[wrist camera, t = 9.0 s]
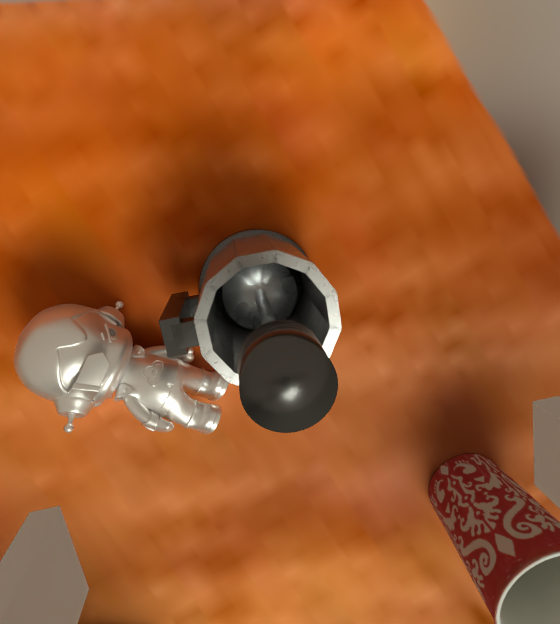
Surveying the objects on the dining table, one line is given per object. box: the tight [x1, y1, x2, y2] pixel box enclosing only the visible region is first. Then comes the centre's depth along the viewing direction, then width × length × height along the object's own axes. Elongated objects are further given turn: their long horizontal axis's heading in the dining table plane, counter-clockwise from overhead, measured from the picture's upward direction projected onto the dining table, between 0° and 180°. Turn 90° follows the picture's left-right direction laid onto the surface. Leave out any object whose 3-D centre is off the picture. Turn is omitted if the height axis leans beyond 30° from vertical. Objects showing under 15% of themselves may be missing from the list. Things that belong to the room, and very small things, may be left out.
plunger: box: [222, 262, 338, 433], centre depth 27 cm, size 6×6×17 cm
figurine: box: [14, 301, 229, 434], centre depth 35 cm, size 11×7×15 cm
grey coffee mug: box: [159, 229, 342, 385], centre depth 32 cm, size 11×9×10 cm
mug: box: [429, 454, 560, 624], centre depth 39 cm, size 13×9×14 cm
